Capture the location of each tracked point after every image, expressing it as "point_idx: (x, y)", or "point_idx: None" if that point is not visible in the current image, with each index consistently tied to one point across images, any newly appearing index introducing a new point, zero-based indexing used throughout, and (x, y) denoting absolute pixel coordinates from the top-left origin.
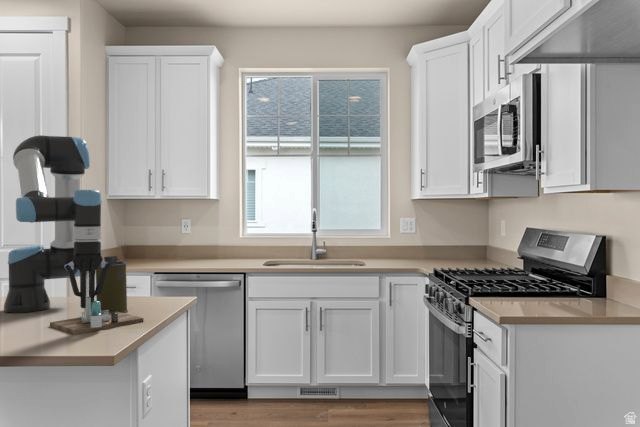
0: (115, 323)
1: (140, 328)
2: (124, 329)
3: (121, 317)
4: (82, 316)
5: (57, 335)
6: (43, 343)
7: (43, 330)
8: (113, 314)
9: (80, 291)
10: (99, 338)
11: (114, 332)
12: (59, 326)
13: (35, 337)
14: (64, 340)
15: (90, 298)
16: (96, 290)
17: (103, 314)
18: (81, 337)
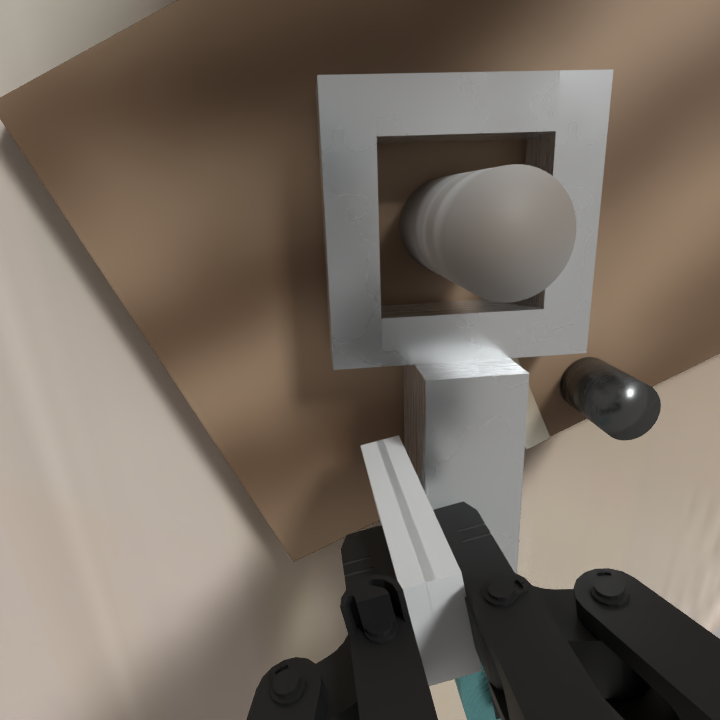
0: (583, 416)
1: (705, 521)
2: (611, 512)
3: (670, 192)
4: (341, 366)
5: (178, 528)
6: (136, 703)
7: (9, 299)
8: (613, 437)
9: (361, 707)
10: (447, 686)
11: (541, 573)
12: (140, 325)
13: (26, 535)
14: (250, 672)
15: (475, 660)
16: (608, 673)
17: (533, 347)
18: (345, 633)
